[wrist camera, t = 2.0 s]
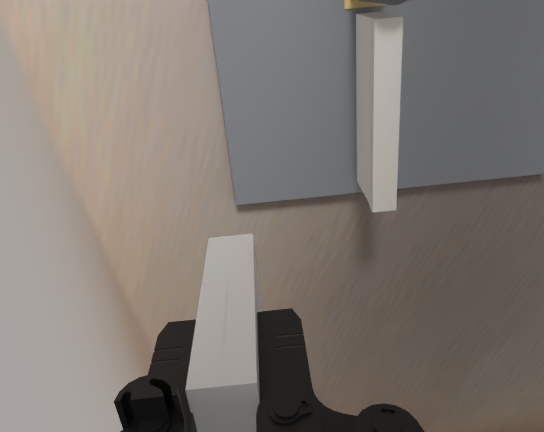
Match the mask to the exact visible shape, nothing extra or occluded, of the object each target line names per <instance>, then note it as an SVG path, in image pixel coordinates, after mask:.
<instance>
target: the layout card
mask: <svg viewBox="0 0 544 432" xmlns="http://www.w3.org/2000/svg"><path fill="white" fill-rule="evenodd" d="M208 5H209V13H210V20H211V27H212V34H213V41H214V49H215V56H216V63H217V70H218V78H219V85H220V92H221V99H222V107H223V114H224V121H225V128H226V136H227V143H228V150H229V157H230V164H231V172H232V179H233V186H234V193H235V201H236V205H243V204H253V203H263V202H273V201H282V200H292V199H302V198H312V197H322V196H332V195H342V194H351V193H361V192H363V191H362V190H361V188H360V186H359V184H358V183H357V120H356V14H360V13H370V12H380V13H385V14H390V15H395V16H403V40H402V67H401V94H400V122H399V149H398V177H397V189H401V188H411V187H420V186H430V185H440V184H450V183H460V182H470V181H480V180H489V179H499V178H509V177H519V176H529V175H539V174H544V0H407V1H406V2H404V3H402V4H400V5H387V4H379V3H371V2H364V1H359V0H208Z"/></svg>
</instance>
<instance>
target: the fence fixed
mask: <svg viewBox="0 0 544 432" xmlns="http://www.w3.org/2000/svg"><path fill="white" fill-rule="evenodd" d="M359 1H364V2H371V3H379V4H387V5H400V4H402V3H404V2H406V1H407V0H359Z"/></svg>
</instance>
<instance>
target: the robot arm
mask: <svg viewBox="0 0 544 432" xmlns="http://www.w3.org/2000/svg"><path fill="white" fill-rule="evenodd" d="M154 350H155V352H154V353H153V357H152V364H151V365H150V369H149V373H148V375H147V376H143V377H139V378H138V379H136V380H134V381H132V382H130V383H128V384H127V385H126V386H125V387H124V388H123V389H122V390H121V391H120V392H119V393H118V395H117V397H116V399H115V401H114V403H115V406H116V409H117V412H118V415H119V418H120V421H121V424H122V427H123V430H122V431H121V432H424V430H423V429H422V427H421V426H420V425H419V423H418V422H417V420H416V419H415V418H414V417H413V416H412V415H411V414H410V413H409V412H408V411H406V410H404V409H402V408H400V407H398V406H395V405H390V404H376V405H371V406H369V407H367V408H366V409H364V410H362V411H361V412H360V414H359V415H358V416H354V415H348V414H343V413H339V412H336V411H333V410H331V409H329V408H327V407H325V406H324V405H323V404H322V403H321V402H320V401H319V400H318V399H317V397H316V396H315V394H314V391H313V388H312V383H311V377H310V371H309V365H308V359H307V353H306V347H305V341H304V336H303V329H302V323H301V319H300V318H299V316H298V315H297V314H296V313H295V312H294V311H293V309H292V308H291V309H282V310H272V311H263V312H262V308H261V294H260V286H259V278H258V270H257V262H256V254H255V246H254V238H253V234H243V235H234V236H224V237H214V238H209V240H208V246H207V253H206V259H205V266H204V272H203V279H202V285H201V292H200V298H199V305H198V311H197V318H196V320H187V321H177V322H168V324H167V325H166V326H165V327H164V329H163V330H162V331H161V332H160V334H159V335H158V338H157V341H156V345H155V349H154Z"/></svg>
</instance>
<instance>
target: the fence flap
mask: <svg viewBox="0 0 544 432" xmlns="http://www.w3.org/2000/svg"><path fill="white" fill-rule="evenodd" d="M402 40H403V16H395V15H390V14H385V13H380V12H370V13H360V14H356V120H357V183H358V184H359V186H360V188H361V190H362V191H363V193H364V195H365V197H366V199H367V200H368V202H369V207H370V209H371V211H372V212H373V213H374V212H383V211H393V210H396V204H397V177H398V149H399V122H400V94H401V67H402Z"/></svg>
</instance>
